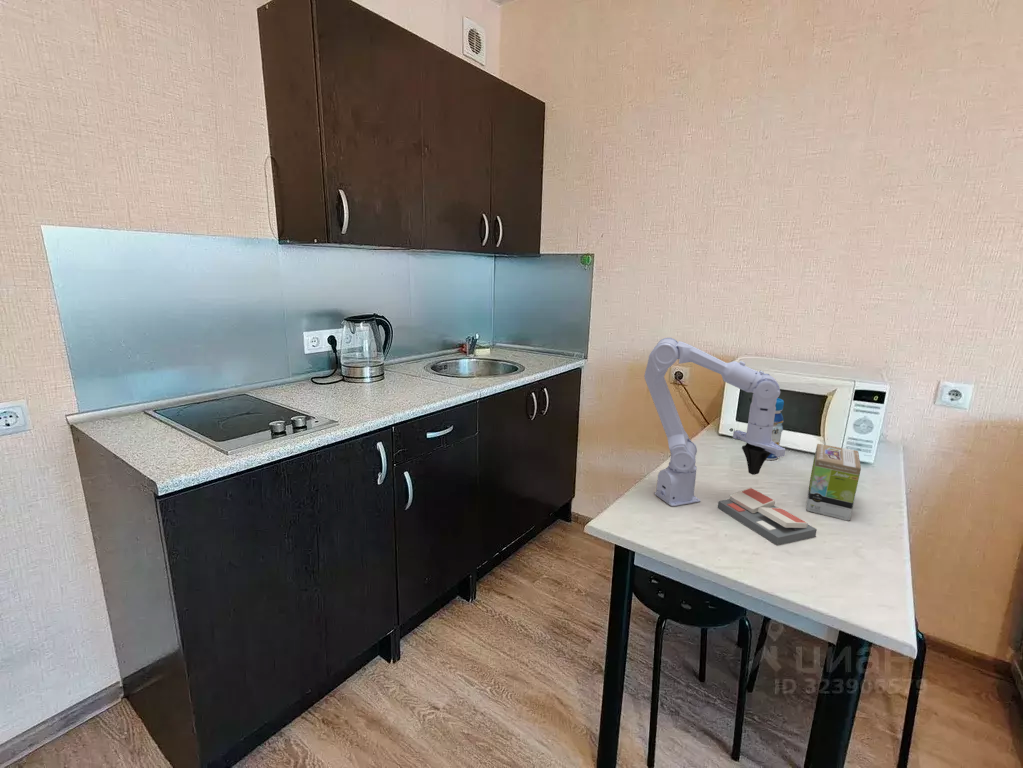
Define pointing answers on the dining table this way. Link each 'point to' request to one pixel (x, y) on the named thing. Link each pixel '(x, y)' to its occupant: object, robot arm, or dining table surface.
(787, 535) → the switch panel
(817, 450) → the tea box
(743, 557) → the dining table surface
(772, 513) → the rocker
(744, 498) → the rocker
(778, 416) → the beverage bottle
